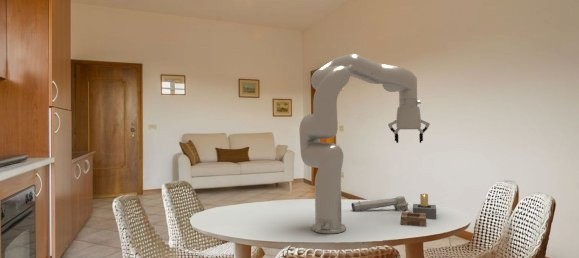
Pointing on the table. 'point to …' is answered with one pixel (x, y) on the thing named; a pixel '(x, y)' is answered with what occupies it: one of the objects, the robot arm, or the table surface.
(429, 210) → the charcoal dock
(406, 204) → the light grey piece
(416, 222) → the walnut mount
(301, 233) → the table surface
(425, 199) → the brass pin
